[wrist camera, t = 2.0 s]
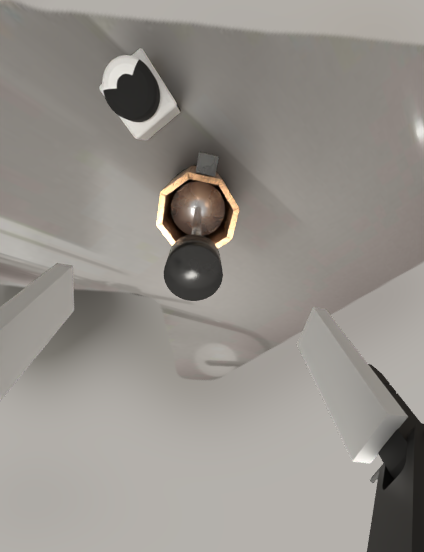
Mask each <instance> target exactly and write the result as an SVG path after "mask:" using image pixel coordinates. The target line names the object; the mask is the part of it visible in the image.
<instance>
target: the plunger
mask: <svg viewBox="0 0 424 552" xmlns="http://www.w3.org/2000/svg"><path fill="white" fill-rule="evenodd" d="M171 214H172V218H173V220H174V222H175V224H176V225H177V227H178V228H179V229H180V230H182V231H183V232H185V233H186V234H189V235H186V236H184V237H182V238H180V239H178V240H177V241H176V242H175V243H174V244H173V246H172V247H171V250H170V253H169V256H168V259H167V262H166V265H165V269H164V279H165V283H166V285H167V287H168V288H169V290H170V291H171V292H172V293H173V294H175V295H176V296H178V297H180V298H182V299H185V300H190V301H198V300H203V299H206V298H208V297H210V296H211V295H213V294H214V293H215V292H216V291H217V290H218V288H219V287H220V285H221V282H222V277H223V273H222V266H221V260H220V254H219V251H218V248H217V247H216V245H215V244H214V243H213V242H212V241H211V240H210V239H209V238H207V237H205V235H208V234H210V233H212V232H214V231H215V230H216V229H217V228H218V227H219V226H220V224H221V223H222V221H223V218H224V214H225V205H224V201H223V198H222V196H221V194H220V193H219V191H218V190H217V189H216V188H215V187H213V186H212V185H210V184H208V183H206V182H201V181H194V182H190V183H187V184H185V185H183V186H182V187H181V188H180V189H179V190H178V191H177V192H176V194H175V195H174V197H173V200H172V203H171Z"/></svg>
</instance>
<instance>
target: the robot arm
mask: <svg viewBox="0 0 424 552" xmlns="http://www.w3.org/2000/svg"><path fill="white" fill-rule="evenodd" d="M73 311H74V288H73V266H71V265H65V264H59V263H57V264H55V265H54V266H53V267H52V268H50V269H49V270H48V271H46V272H45V273H44V274H42V275H41V276H40V277H39V278H37V279H36V280H35V281H33V282H32V283H31V284H29V285H28V286H27V287H26V288H24V289H23V290H22V291H20V292H19V293H18V294H16V295H15V296H14V297H13V298H11V299H10V300H9V301H7V302H6V303H5V304H4V305H2V306H1V307H0V401H1V400H2V399H3V397H4V396H5V395H6V394H7V392H8V391H9V390H10V389H11V388H12V386H13V385H14V384H15V382H16V381H17V380H18V379H19V378H20V377H21V375H22V374H23V373H24V372H25V370H26V369H27V368H28V367H29V365H30V364H31V363H32V362H33V360H34V359H35V358H36V357H37V356H38V354H39V353H40V352H41V351H42V349H43V348H44V347H45V346H46V344H47V343H48V342H49V341H50V339H51V338H52V337H53V336H54V335H55V333H56V332H57V331H58V330H59V328H60V327H61V326H62V325H63V323H64V322H65V321H66V320H67V319H68V317H69V316H70V315H71V314H72V312H73ZM297 346H298V348H299V350H300V353H301V355H302V356H303V359H304V361H305V363H306V365H307V367H308V369H309V371H310V373H311V376H312V378H313V380H314V382H315V384H316V386H317V388H318V390H319V393H320V395H321V397H322V399H323V401H324V403H325V405H326V407H327V409H328V411H329V413H330V416H331V418H332V420H333V422H334V424H335V426H336V428H337V430H338V432H339V434H340V437H341V438H342V441H343V443H344V445H345V447H346V449H347V451H348V454H349V456H350V457H351V460H352V461H353V462H363V463H371V462H372V461H373V460H374V458H375V457H376V456H377V455H378V454H379V455H380V457H381V459H382V461H383V462H384V463H383V465H382V466H381V467H380V468H379V469H378V471H377V472H376V473H375V474H374V475H373V476H372V478H371V480H370V481H371V482H372V483H374V482H375V480H376V479H378V483H377V490H376V496H375V503H374V510H373V516H372V523H371V529H370V535H369V542H368V548H367V552H424V424H422V423H421V422H420V421H419V420H418V419H417V418H416V416H415V415H414V414H413V413H412V411H411V410H410V409H409V407H408V406H407V405H406V404H405V402H404V401H403V400H402V399H401V397H400V396H399V395H398V394H396V391H395V390H394V388H393V387H392V386H391V385H389V382H388V381H387V380H386V378H385V377H384V376H383V375H382V373H380V372H379V371H378V370H377V369H376V368H374V367H373V366H372V365H370V364H367V362H366V361H365V360H364V358H363V357H362V356H361V354H360V353H359V352H358V351H357V349H356V348H355V347H354V345H353V344H352V343H351V341H350V340H349V339H348V337H347V336H346V335H345V333H344V332H343V331H342V330H341V329H340V327H339V326H338V324H337V323H336V322H335V320H334V319H333V318H332V316H331V315H330V314H329V313H328V311H327V310H326V309H322V308H317V307H313V309H312V311H311V313H310V315H309V318H308V320H307V322H306V324H305V327H304V329H303V331H302V333H301V336H300V338H299V340H298V343H297Z"/></svg>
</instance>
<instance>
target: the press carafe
mask: <svg viewBox="0 0 424 552" xmlns="http://www.w3.org/2000/svg"><path fill="white" fill-rule="evenodd" d="M218 160H219V157H217V156H215V155H212V154H207V153H203V152H199V155H198V161H197V166H191V167H189V168H187V169H185V170H183V171H182V172H180V173H179V174H178V175H177V176H176V177H175V178H174V179H173V180H172V181H171V182H170V183H169V184H168V185H167V186H166V187H165V188H164V189H163V190H162V191H161V192H160V198H159V206H158V215H157V223H156V225H157V227H158V228H159V229H160V231H161V232H162V233H163V235H164V236H165V237H166V238H167V240H168V241H169V242H170V244H171V245H172V246H173V244H174V243H175V242H176V241H177V240H178V239H180V238H182V237H184V236H186V235H189V234H186V233H185V232H183V231H182V230H180V229H179V228H178V227H177V225H176V224H175V222H174V220H173V218H172V214H171V203H172V200H173V197H174V195H175V194H176V192H177V191H178V190H179V189H180V188H181V187H182V186H183V185H185V184H187V183H190V182H194V181H201V182H206V183H208V184H210V185H212V186H213V187H215V188H216V189H217V190H218V191H219V193H220V194H221V196H222V198H223V201H224V205H225V214H224V218H223V221H222V223H221V224H220V226H219V227H218V228H217V229H216V230H215V231H214V232H212V233H210V234H208V235H205V237H207V238H209V239H210V240H211V241H212V242H213V243H214V244H215V245H216V247H217V248H219V247H221V246H223V245H224V244H226V243H227V242H229V241H231V239H232V237H233V233H234V229H235V225H236V221H237V217H238V213H239V207H238V205H237V204H236V202H235V200H234V199H233V197H232V195H231V194H230V192H229V190H228V189H227V186H226V184H225V182H224V180H223V179H222V178H221V176H220V175H219V174H218V173H217V171H216V170H217V165H218Z"/></svg>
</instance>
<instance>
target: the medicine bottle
mask: <svg viewBox="0 0 424 552" xmlns="http://www.w3.org/2000/svg"><path fill="white" fill-rule="evenodd" d="M99 89H100V91H101V92H102V94H103V95H104V96H105V99H106V101H107V103H108V104H109V106H110V107H111V109H112V110H113V111H114V112H115V113H116V114H117V115H118V116H119V117H120V118H121V120H122V121H123V122H124V124H125V125H126V127H127V128H128V129H129V131H130V132H131V133H132V135H133V136H134V138H136V139H140V140H148V139H149V138H151V137H152V136H153V135H154V134H155V133H157V132H158V131H159V130H160V129H161V128H162V127H164V126H165V125H166V124H167V123H168V122H170V121H171V120H172V119H173V118H174V117H176V116H177V115H178V114H179V113H180V108H179V106H178V105H177V103H176V101H175V100H174V98H173V96H172V95H171V93H170V92H169V90H168V89H167V87H166V85H165V84H164V82H163V81H162V79H161V77H160V76H159V74H158V73H157V71H156V70H155V68H154V66H153V65H152V63H151V62H150V60H149V58H148V57H147V55H146V54H145V52H144V51H143V49H141V48H139V49H138V50H137V51H136V52H135V53H134V54H133V55H132V56H129V55H122V56H118V57H116V58H114V59H113V60H112V61H111V62H110V63H109V64H108V65H107V67H106V69H105V71H104V74H103V80H102V84H101V85H100V87H99Z"/></svg>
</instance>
